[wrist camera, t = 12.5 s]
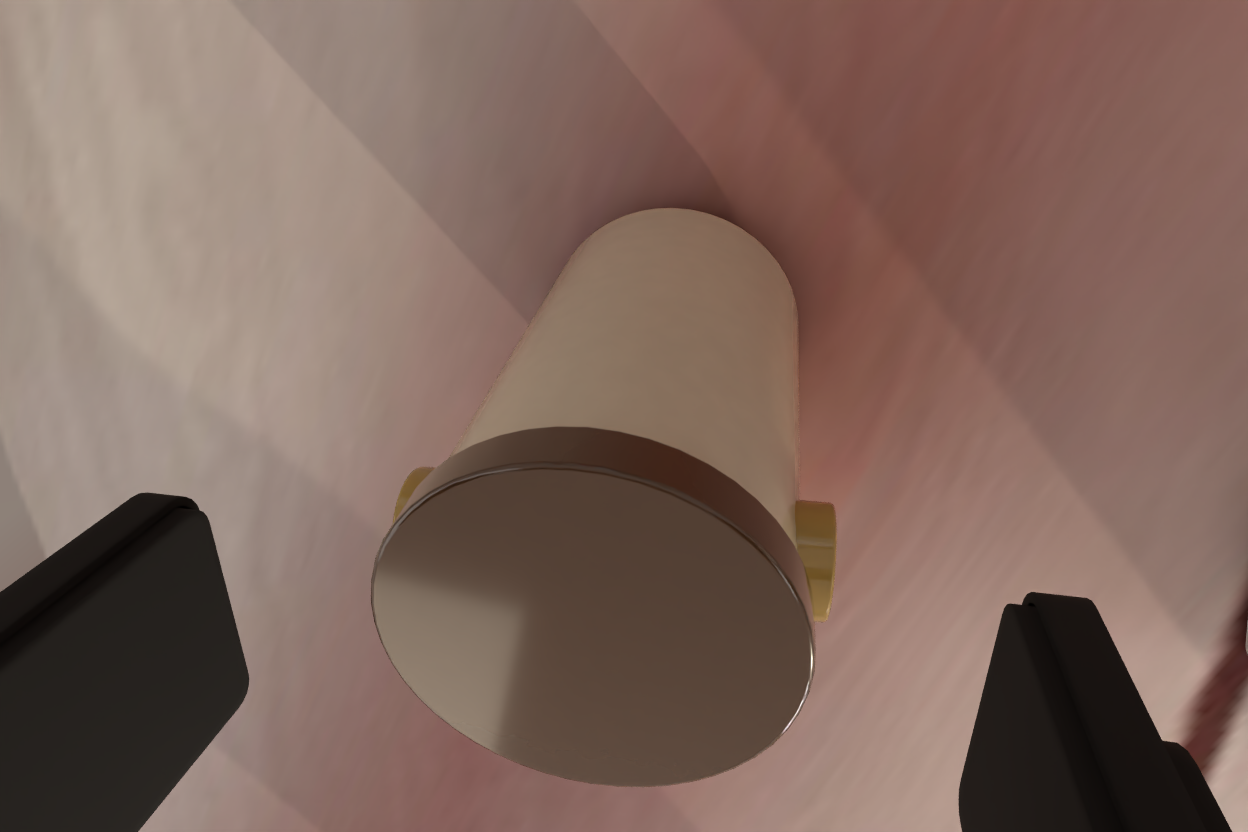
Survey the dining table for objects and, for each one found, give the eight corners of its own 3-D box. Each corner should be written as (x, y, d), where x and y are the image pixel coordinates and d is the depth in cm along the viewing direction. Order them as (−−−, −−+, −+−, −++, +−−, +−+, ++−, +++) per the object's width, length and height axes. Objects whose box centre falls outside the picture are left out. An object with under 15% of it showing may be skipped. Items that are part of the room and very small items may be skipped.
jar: (525, 193, 20) (305, 442, 11) (833, 204, 19) (868, 490, 10) (544, 426, 24) (390, 757, 15) (805, 446, 23) (811, 818, 14)
